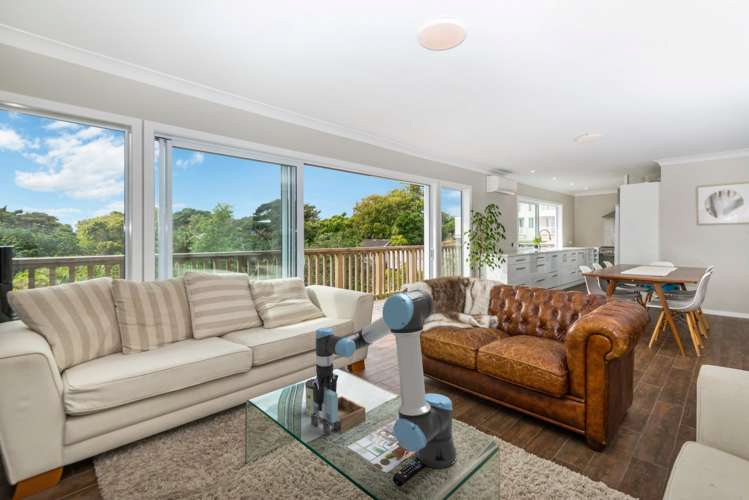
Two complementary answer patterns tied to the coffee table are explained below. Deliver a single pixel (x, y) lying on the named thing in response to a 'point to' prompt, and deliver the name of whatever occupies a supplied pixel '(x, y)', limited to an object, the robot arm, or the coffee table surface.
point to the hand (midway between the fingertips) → (325, 415)
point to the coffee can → (310, 398)
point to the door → (328, 405)
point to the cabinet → (343, 416)
